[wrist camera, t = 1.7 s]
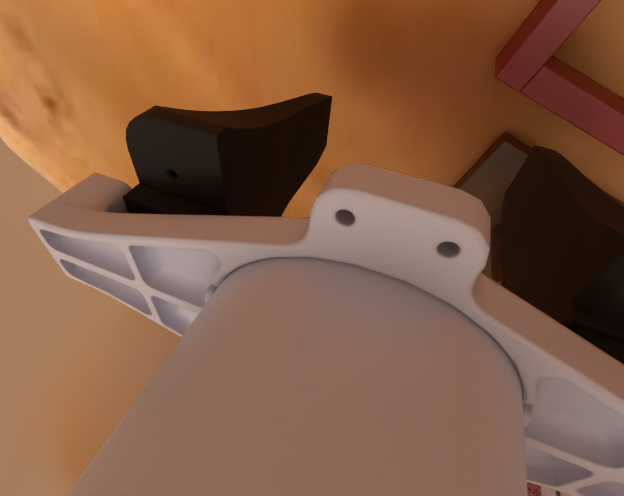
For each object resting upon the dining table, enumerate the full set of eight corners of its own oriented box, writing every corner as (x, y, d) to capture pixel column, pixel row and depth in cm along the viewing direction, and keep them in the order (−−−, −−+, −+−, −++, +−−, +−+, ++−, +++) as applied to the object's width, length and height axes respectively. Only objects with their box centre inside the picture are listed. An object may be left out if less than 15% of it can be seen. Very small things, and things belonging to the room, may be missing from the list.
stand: (643, 214, 21) (682, 297, 17) (513, 291, 29) (517, 361, 24) (505, 131, 21) (507, 193, 16) (411, 230, 28) (395, 291, 24)
